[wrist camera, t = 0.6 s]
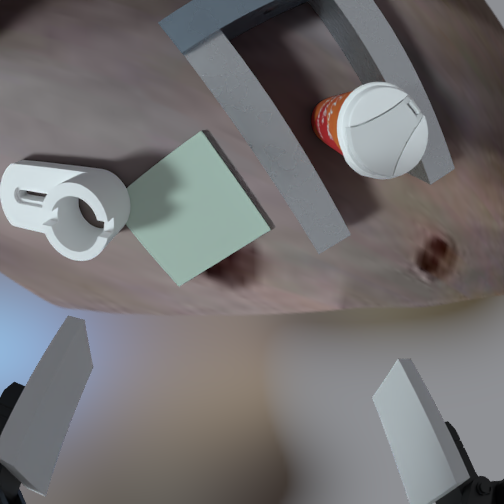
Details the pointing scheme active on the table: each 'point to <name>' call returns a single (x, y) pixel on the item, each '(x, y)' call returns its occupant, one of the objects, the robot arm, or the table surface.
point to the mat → (192, 211)
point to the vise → (267, 115)
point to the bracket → (65, 204)
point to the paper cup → (373, 129)
